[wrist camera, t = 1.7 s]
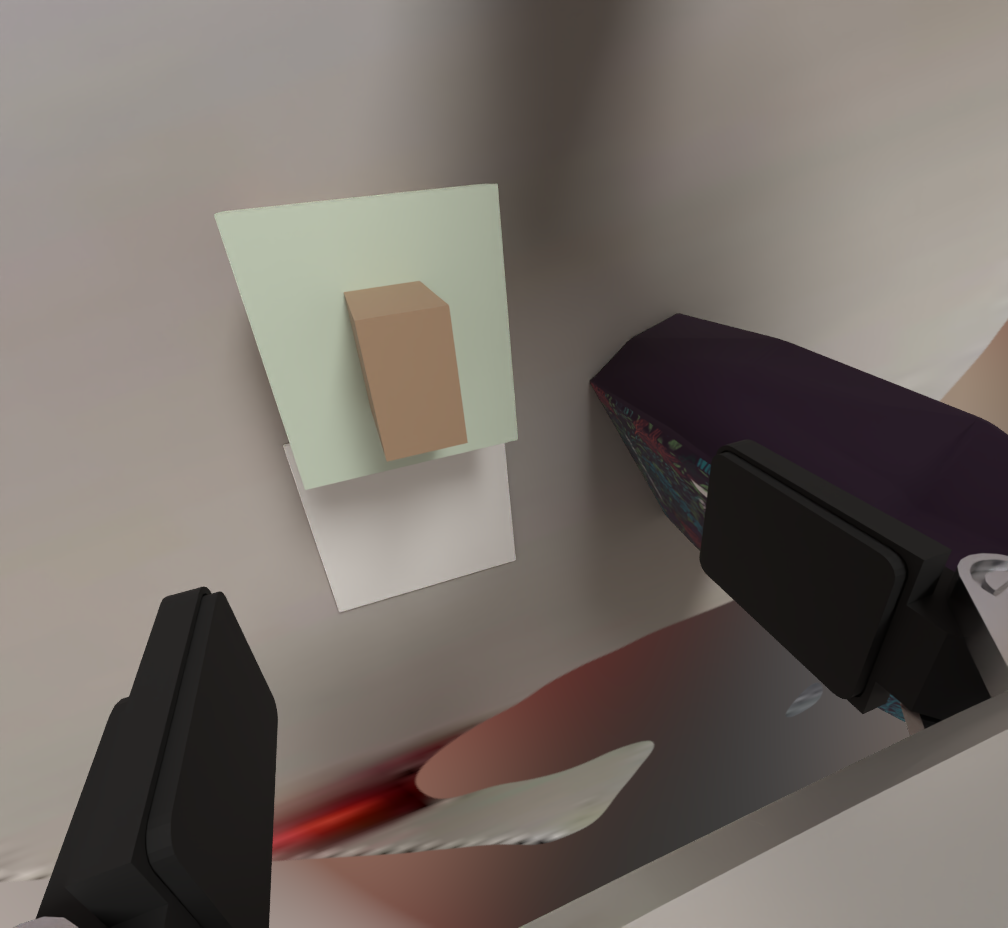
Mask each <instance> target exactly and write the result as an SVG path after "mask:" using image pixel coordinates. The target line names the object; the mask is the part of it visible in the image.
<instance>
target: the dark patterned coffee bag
mask: <svg viewBox="0 0 1008 928" xmlns="http://www.w3.org/2000/svg"><path fill="white" fill-rule="evenodd" d="M590 383H591V385H592V387H593V389H594V390H595V392H596V394H597V396H598V397H599V399H600V401H601V403H602V404H603V406H604V408H605V410H606V411H607V413H608V415H609V417H610V418H611V420H612V422H613V424H614V425H615V427H616V429H617V431H618V432H619V434H620V436H621V438H622V439H623V441H624V443H625V445H626V446H627V448H628V450H629V451H630V453H631V455H632V457H633V458H634V460H635V462H636V464H637V465H638V467H639V469H640V471H641V472H642V474H643V476H644V478H645V479H646V481H647V483H648V485H649V486H650V488H651V490H652V492H653V493H654V495H655V497H656V499H657V500H658V502H659V504H660V506H661V507H662V509H663V511H664V513H665V514H666V516H667V517H668V518H669V519H670V520H671V521H672V522H673V523H674V524H675V526H676V527H677V528H678V529H679V530H680V531H681V532H682V533H683V534H684V535H685V536H686V537H687V538H688V539H689V540H690V541H691V542H692V543H693V544H694V545H695V546H696V547H697V548H698V549H699V550H700V549H701V541H702V533H703V525H704V517H705V509H706V501H707V493H708V485H709V477H710V469H711V462H712V459H713V457H714V456H715V455H716V453H717V451H718V449H719V448H720V447H722V446H723V445H727V444H731V443H734V442H738V441H742V440H748V439H749V440H752V441H755V442H756V443H758V444H760V445H762V446H764V447H766V448H767V449H769V450H771V451H773V452H775V453H777V454H778V455H780V456H782V457H784V458H786V459H787V460H789V461H791V462H793V463H795V464H797V465H798V466H800V467H802V468H804V469H806V470H808V471H809V472H811V473H813V474H815V475H817V476H818V477H820V478H822V479H824V480H826V481H828V482H829V483H831V484H833V485H835V486H837V487H839V488H840V489H842V490H844V491H846V492H848V493H849V494H851V495H853V496H855V497H857V498H859V499H860V500H862V501H864V502H866V503H868V504H870V505H871V506H873V507H875V508H877V509H879V510H880V511H882V512H884V513H886V514H888V515H890V516H891V517H893V518H895V519H897V520H899V521H901V522H902V523H904V524H906V525H908V526H910V527H911V528H913V529H915V530H917V531H919V532H921V533H922V534H924V535H926V536H928V537H930V538H932V539H933V540H935V541H937V542H939V543H941V544H942V545H944V546H946V547H948V548H950V549H952V551H951V553H950V555H949V558H948V560H947V562H946V565H945V566H946V567H947V568H949V569H951V570H952V571H954V572H955V571H956V568H957V566H958V564H959V562H960V560H961V559H963V558H965V557H967V556H969V555H974V554H981V553H987V554H1000V555H1005V556H1008V435H1007V434H1006V433H1004V432H1003V431H1002V430H1000V429H999V428H998V427H996V426H995V425H993V424H991V423H990V422H988V421H986V420H984V419H982V418H980V417H977V416H975V415H972V414H970V413H967V412H965V411H962V410H960V409H957V408H955V407H952V406H949V405H947V404H944V403H942V402H939V401H937V400H934V399H932V398H929V397H927V396H924V395H922V394H919V393H916V392H914V391H911V390H909V389H906V388H904V387H901V386H899V385H896V384H894V383H891V382H889V381H886V380H883V379H881V378H878V377H876V376H873V375H871V374H868V373H866V372H863V371H861V370H858V369H855V368H853V367H850V366H848V365H845V364H843V363H840V362H838V361H835V360H833V359H830V358H828V357H825V356H822V355H820V354H817V353H815V352H812V351H810V350H807V349H805V348H802V347H800V346H797V345H795V344H792V343H789V342H787V341H784V340H781V339H778V338H774V337H770V336H766V335H762V334H758V333H754V332H750V331H746V330H742V329H738V328H734V327H730V326H726V325H722V324H718V323H714V322H710V321H706V320H702V319H698V318H695V317H691V316H687V315H683V314H675V315H674V316H672V317H670V318H668V319H666V320H664V321H663V322H661V323H659V324H657V325H655V326H653V327H652V328H650V329H648V330H646V331H644V332H642V333H641V334H639V335H637V336H635V337H633V338H632V339H630V340H629V341H628V342H627V343H626V344H625V346H624V347H623V348H622V349H621V350H620V351H619V352H618V353H617V354H616V355H615V356H614V357H613V358H612V359H611V360H610V361H609V362H608V364H607V365H606V366H605V367H604V368H603V369H602V370H601V371H600V372H599V373H598V374H597V375H596V376H595V377H594V378H593V379H591V380H590ZM878 708H879V709H881V710H883V711H885V712H887V713H889V714H891V715H893V716H895V717H896V718H898V719H900V720H902V721H904V722H905V719H904V715H903V712H902V709H901V705H900V701H898V700H897V699H896V698H895V697H894V696H892V695H891V694H890V696H889V698H888V700H887V703H886V704H884V705H881V706H879V707H878Z"/></svg>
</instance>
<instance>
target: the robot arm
mask: <svg viewBox="0 0 1008 928" xmlns="http://www.w3.org/2000/svg"><path fill="white" fill-rule="evenodd" d="M951 551H952V549H950V548H948V547H946V546H944V545H942V544H941V543H939V542H937V541H935V540H933V539H932V538H930V537H928V536H926V535H924V534H922V533H921V532H919V531H917V530H915V529H913V528H911V527H910V526H908V525H906V524H904V523H902V522H901V521H899V520H897V519H895V518H893V517H891V516H890V515H888V514H886V513H884V512H882V511H880V510H879V509H877V508H875V507H873V506H871V505H870V504H868V503H866V502H864V501H862V500H860V499H859V498H857V497H855V496H853V495H851V494H849V493H848V492H846V491H844V490H842V489H840V488H839V487H837V486H835V485H833V484H831V483H829V482H828V481H826V480H824V479H822V478H820V477H818V476H817V475H815V474H813V473H811V472H809V471H808V470H806V469H804V468H802V467H800V466H798V465H797V464H795V463H793V462H791V461H789V460H787V459H786V458H784V457H782V456H780V455H778V454H777V453H775V452H773V451H771V450H769V449H767V448H766V447H764V446H762V445H760V444H758V443H756V442H755V441H752V440H749V439H748V440H742V441H738V442H734V443H731V444H727V445H723V446H722V447H720V448H719V449H718V451H717V453H716V455H715V456H714V457H713V459H712V462H711V469H710V477H709V485H708V493H707V501H706V509H705V517H704V525H703V533H702V541H701V549H700V563H701V566H702V568H703V570H704V572H705V573H706V574H707V575H708V576H709V577H710V578H711V579H712V580H713V581H714V582H715V583H717V584H718V585H719V586H720V587H721V588H722V589H723V590H724V591H725V592H726V593H727V594H728V595H729V596H730V597H731V598H732V599H734V600H735V601H736V602H737V603H738V604H739V605H740V606H741V607H742V608H743V609H744V610H745V611H746V612H747V613H748V614H750V615H751V616H752V617H753V618H754V619H755V620H756V621H757V622H758V623H759V624H760V625H761V626H762V627H763V628H765V630H767V631H768V632H769V633H770V634H771V635H772V636H773V637H774V638H775V639H776V640H777V641H778V642H779V643H780V644H781V645H782V646H784V647H785V648H786V649H787V650H788V651H789V652H790V653H791V654H792V655H793V656H794V657H795V658H796V659H797V660H799V661H800V662H801V663H802V664H803V665H804V666H805V667H806V668H807V669H808V670H809V671H810V672H811V673H812V674H813V675H815V676H816V677H817V678H818V679H819V680H820V681H821V682H822V683H823V684H824V685H825V686H826V687H827V688H828V689H829V690H830V691H832V692H833V693H834V694H835V695H836V696H838V697H840V698H842V699H847V700H848V701H849V702H850V703H851V704H852V705H854V707H856V708H857V709H858V710H859V711H860V712H861V713H862V714H864V713H866V712H868V711H870V710H873V709H875V708H877V707H879V706H881V705H884V704H886V703H887V700H888V698H889V696H890V694H891V695H892V696H894V697H895V698H896V699H897V700H898V701H900V705H901V709H902V712H903V715H904V719H905V722H906V725H907V729H908V732H909V735H910V736H909V737H907V738H905V739H903V740H901V741H899V742H897V743H895V744H893V745H891V746H889V747H887V748H885V749H882V750H881V751H878V752H876V753H874V754H872V755H870V756H868V757H866V758H864V759H862V760H860V761H858V762H855V763H853V764H851V765H849V766H848V767H845V768H843V769H841V770H839V771H837V772H835V773H833V774H831V775H829V776H826V777H824V778H822V779H820V780H819V781H816V782H814V783H812V784H810V785H808V786H806V787H804V788H802V789H800V790H798V791H796V792H794V793H792V794H790V795H788V796H786V797H783V798H781V799H779V800H777V801H775V802H773V803H771V804H769V805H767V806H765V807H763V808H761V809H759V810H757V811H755V812H753V813H751V814H749V815H747V816H745V817H743V818H740V819H739V820H737V821H734V822H732V823H730V824H729V825H726V826H724V827H722V828H720V829H718V830H716V831H714V832H712V833H710V834H708V835H706V836H704V837H702V838H700V839H698V840H696V841H694V842H691V843H689V844H687V845H686V846H683V847H681V848H679V849H677V850H675V851H673V852H671V853H669V854H667V855H665V856H663V857H661V858H659V859H657V860H655V861H653V862H651V863H649V864H647V865H645V866H643V867H641V868H639V869H637V870H635V871H633V872H630V873H628V874H626V875H624V876H622V877H620V878H618V879H617V880H614V881H612V882H610V883H609V884H606V885H604V886H602V887H600V888H598V889H596V890H594V891H592V892H590V893H588V894H586V895H584V896H582V897H580V898H578V899H576V900H574V901H572V902H570V903H568V904H566V905H564V906H562V907H560V908H558V909H556V910H554V911H552V912H550V913H548V914H546V915H544V916H542V917H540V918H538V919H536V920H534V921H532V922H530V923H528V924H526V925H524V926H522V927H520V928H1008V556H1005V555H1000V554H987V553H981V554H974V555H969V556H967V557H965V558H963V559H961V560H960V562H959V564H958V566H957V568H956V571H955V572H954V571H952V570H951V569H949V568H947V567H946V566H945V565H946V562H947V560H948V558H949V555H950V553H951ZM277 726H278V716H277V708H276V704H275V700H274V698H273V695H272V693H271V691H270V689H269V687H268V685H267V683H266V681H265V678H264V676H263V674H262V672H261V670H260V668H259V666H258V664H257V662H256V660H255V657H254V655H253V653H252V651H251V649H250V647H249V645H248V643H247V641H246V639H245V636H244V634H243V632H242V630H241V628H240V626H239V624H238V622H237V620H236V617H235V615H234V613H233V611H232V609H231V607H230V605H229V603H228V601H227V599H226V597H225V595H224V594H223V593H222V592H216V593H211V592H210V590H209V589H208V588H207V587H200V588H196V589H193V590H189V591H185V592H182V593H178V594H174V595H171V596H167V597H165V598H164V599H163V600H162V602H161V604H160V607H159V610H158V613H157V616H156V619H155V622H154V625H153V628H152V631H151V634H150V637H149V640H148V642H147V645H146V648H145V651H144V654H143V657H142V660H141V663H140V666H139V669H138V672H137V675H136V678H135V681H134V684H133V687H132V690H131V693H130V696H129V697H127V698H123V699H121V700H120V701H119V702H118V703H117V704H116V705H115V706H114V708H113V710H112V712H111V714H110V716H109V719H108V721H107V724H106V727H105V730H104V732H103V735H102V738H101V741H100V743H99V746H98V749H97V752H96V754H95V757H94V760H93V763H92V765H91V768H90V771H89V774H88V776H87V779H86V782H85V785H84V787H83V790H82V793H81V796H80V798H79V801H78V804H77V807H76V809H75V812H74V815H73V818H72V820H71V823H70V826H69V829H68V831H67V834H66V837H65V840H64V842H63V845H62V848H61V851H60V853H59V856H58V859H57V862H56V864H55V867H54V870H53V872H52V875H51V878H50V881H49V884H48V886H47V889H46V892H45V894H44V898H43V900H42V903H41V905H40V908H39V911H38V914H37V917H36V919H35V920H31V921H28V922H25V923H22V924H19V925H17V926H15V927H14V928H269V912H270V890H271V865H272V843H273V819H274V796H275V772H276V749H277Z"/></svg>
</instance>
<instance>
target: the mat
mask: <svg viewBox="0 0 1008 928" xmlns="http://www.w3.org/2000/svg"><path fill="white" fill-rule="evenodd" d="M283 448H284V451H285V454H286V457H287V460H288V463H289V465H290V468H291V471H292V474H293V477H294V480H295V483H296V486H297V489H298V492H299V495H300V498H301V501H302V504H303V507H304V510H305V513H306V516H307V518H308V521H309V524H310V527H311V530H312V533H313V536H314V539H315V542H316V545H317V548H318V551H319V554H320V557H321V560H322V563H323V566H324V569H325V571H326V574H327V577H328V580H329V583H330V586H331V589H332V592H333V595H334V598H335V601H336V604H337V607H338V610H339V613H340V612H343V611H346V610H350V609H353V608H356V607H360V606H363V605H367V604H370V603H373V602H377V601H380V600H383V599H387V598H390V597H394V596H397V595H400V594H404V593H407V592H410V591H414V590H417V589H421V588H424V587H427V586H431V585H434V584H438V583H441V582H444V581H448V580H451V579H454V578H458V577H461V576H465V575H468V574H471V573H475V572H478V571H481V570H485V569H488V568H492V567H495V566H498V565H502V564H505V563H508V562H512V561H515V560H516V557H515V547H514V536H513V526H512V515H511V505H510V494H509V484H508V473H507V462H506V452H505V443H502V444H498V445H494V446H489V447H485V448H481V449H477V450H473V451H468V452H464V453H460V454H456V455H451V456H447V457H443V458H439V459H434V460H430V461H426V462H422V463H418V464H413V465H409V466H405V467H401V468H396V469H392V470H388V471H384V472H379V473H375V474H371V475H367V476H362V477H358V478H354V479H350V480H346V481H341V482H337V483H333V484H329V485H324V486H320V487H316V488H312V489H307V490H305V488H304V485H303V482H302V479H301V476H300V473H299V470H298V467H297V464H296V461H295V458H294V455H293V452H292V449H291V446H290V443H288V444H284V445H283Z"/></svg>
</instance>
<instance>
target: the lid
mask: <svg viewBox="0 0 1008 928" xmlns="http://www.w3.org/2000/svg"><path fill="white" fill-rule="evenodd" d="M214 216H215V219H216V222H217V225H218V228H219V231H220V234H221V237H222V240H223V243H224V246H225V249H226V253H227V256H228V259H229V262H230V265H231V268H232V271H233V274H234V277H235V280H236V283H237V286H238V289H239V292H240V295H241V298H242V301H243V304H244V307H245V310H246V313H247V316H248V319H249V322H250V325H251V328H252V331H253V334H254V337H255V340H256V343H257V346H258V349H259V352H260V355H261V358H262V361H263V364H264V367H265V370H266V373H267V376H268V379H269V382H270V385H271V388H272V391H273V394H274V397H275V400H276V404H277V407H278V410H279V413H280V416H281V419H282V422H283V425H284V428H285V431H286V434H287V437H288V440H289V443H290V446H291V449H292V452H293V455H294V458H295V461H296V464H297V467H298V470H299V473H300V476H301V479H302V482H303V485H304V488H305V490H307V489H312V488H316V487H320V486H324V485H329V484H333V483H337V482H341V481H346V480H350V479H354V478H358V477H362V476H367V475H371V474H375V473H379V472H384V471H388V470H392V469H396V468H401V467H405V466H409V465H413V464H418V463H422V462H426V461H430V460H434V459H439V458H443V457H447V456H451V455H456V454H460V453H464V452H468V451H473V450H477V449H481V448H485V447H489V446H494V445H498V444H502V443H506V442H511V441H515V440H518V433H517V420H516V408H515V395H514V383H513V370H512V358H511V345H510V333H509V320H508V308H507V295H506V283H505V270H504V258H503V245H502V232H501V220H500V207H499V195H498V184H475V185H466V186H456V187H447V188H438V189H428V190H419V191H410V192H400V193H391V194H382V195H372V196H363V197H353V198H344V199H335V200H325V201H316V202H307V203H297V204H288V205H279V206H269V207H260V208H250V209H241V210H232V211H222V212H219V213H217V214H214Z"/></svg>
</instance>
